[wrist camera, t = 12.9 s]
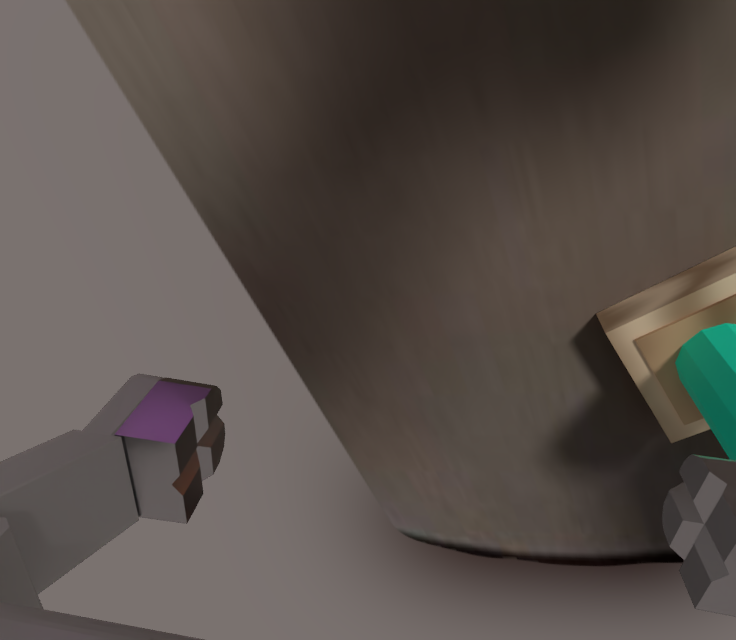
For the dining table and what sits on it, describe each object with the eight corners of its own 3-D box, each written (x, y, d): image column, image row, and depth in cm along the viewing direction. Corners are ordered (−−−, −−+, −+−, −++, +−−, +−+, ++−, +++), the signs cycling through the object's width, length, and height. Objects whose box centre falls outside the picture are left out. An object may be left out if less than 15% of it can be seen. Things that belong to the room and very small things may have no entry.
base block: (763, 232, 37) (789, 250, 34) (817, 358, 41) (845, 383, 38) (595, 313, 41) (606, 335, 39) (658, 419, 45) (672, 445, 42)
